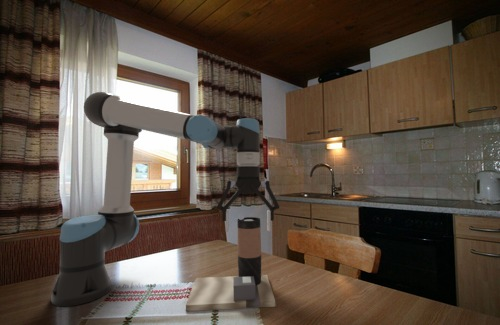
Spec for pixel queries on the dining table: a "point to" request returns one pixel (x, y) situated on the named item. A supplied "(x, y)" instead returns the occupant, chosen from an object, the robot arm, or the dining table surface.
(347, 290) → the dining table surface
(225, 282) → the panel
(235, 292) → the grey small block
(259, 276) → the travel mug
